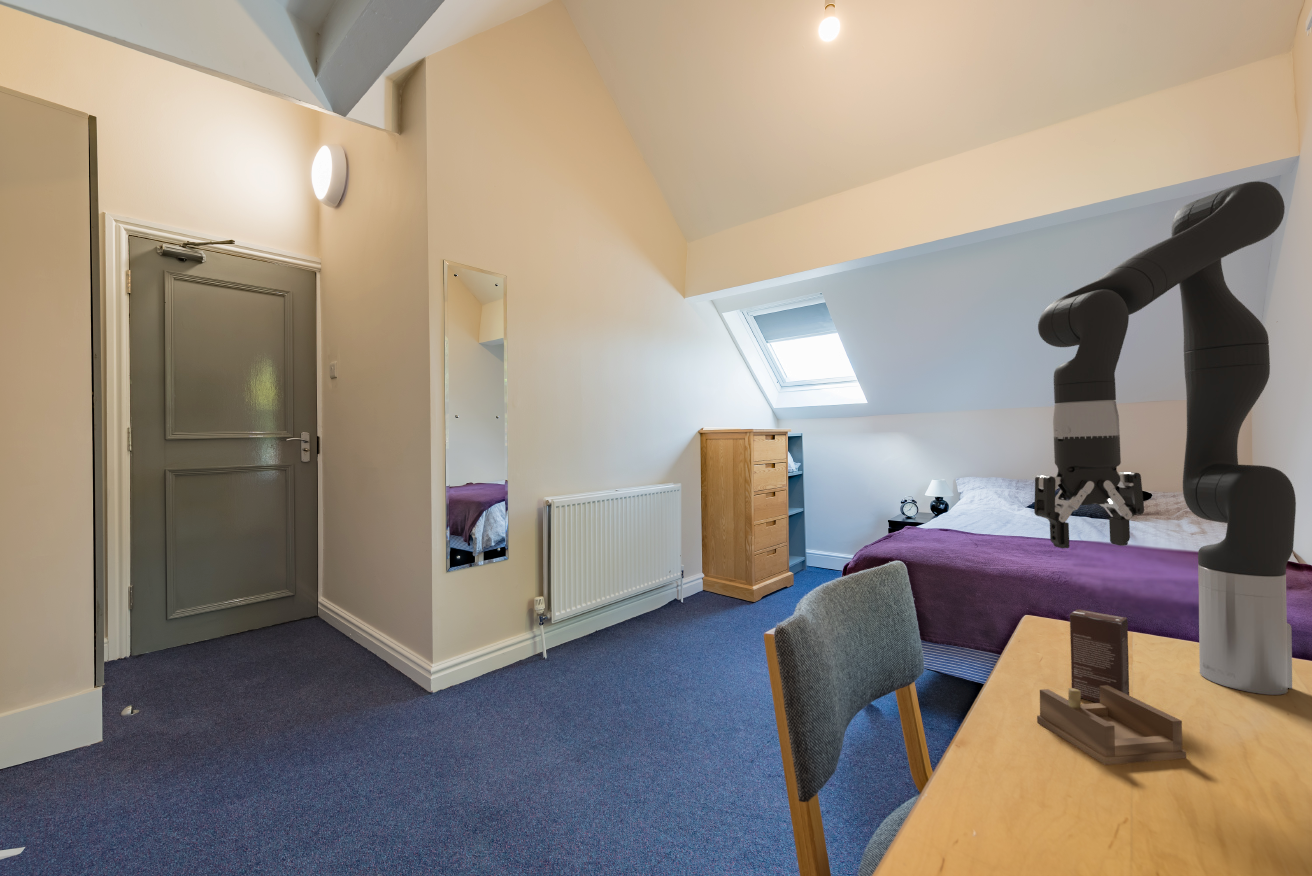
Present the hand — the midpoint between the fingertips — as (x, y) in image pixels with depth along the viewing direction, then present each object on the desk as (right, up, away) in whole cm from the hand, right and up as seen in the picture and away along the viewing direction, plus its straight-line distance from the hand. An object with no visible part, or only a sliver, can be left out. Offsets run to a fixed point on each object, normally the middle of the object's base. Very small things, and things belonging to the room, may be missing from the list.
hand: (1090, 546), depth 79 cm
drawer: (-6, -22, -11) cm, 25 cm away
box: (+1, -22, 0) cm, 22 cm away
